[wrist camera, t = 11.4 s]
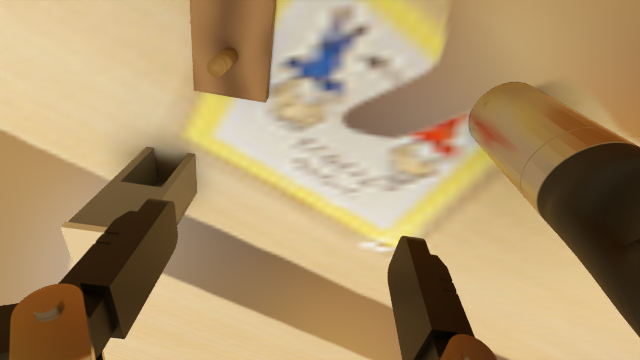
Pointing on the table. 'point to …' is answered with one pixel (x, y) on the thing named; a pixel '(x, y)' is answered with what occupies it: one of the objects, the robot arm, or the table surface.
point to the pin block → (232, 47)
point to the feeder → (129, 199)
